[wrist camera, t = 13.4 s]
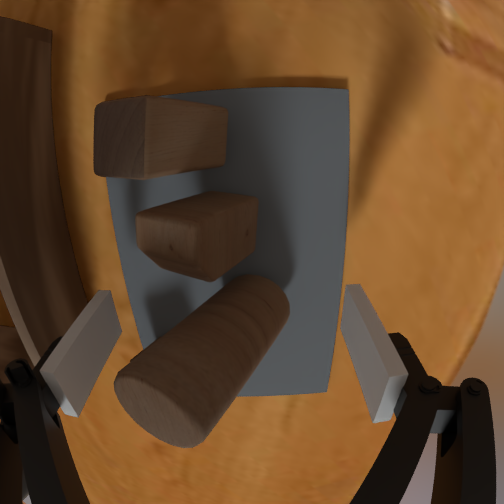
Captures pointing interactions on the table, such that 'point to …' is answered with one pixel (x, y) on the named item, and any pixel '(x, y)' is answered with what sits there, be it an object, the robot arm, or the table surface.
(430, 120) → the table surface
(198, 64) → the table surface
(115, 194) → the mat
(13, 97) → the crate
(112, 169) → the wooden block set
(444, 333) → the table surface
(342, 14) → the table surface
